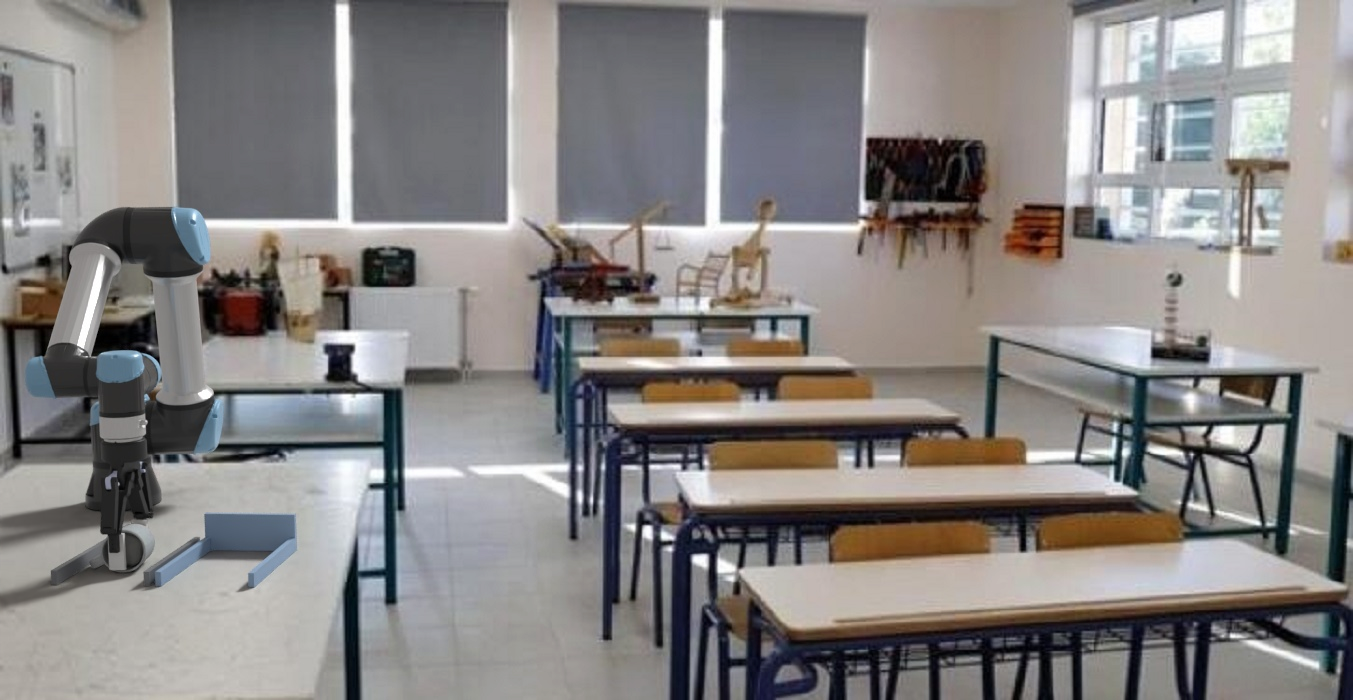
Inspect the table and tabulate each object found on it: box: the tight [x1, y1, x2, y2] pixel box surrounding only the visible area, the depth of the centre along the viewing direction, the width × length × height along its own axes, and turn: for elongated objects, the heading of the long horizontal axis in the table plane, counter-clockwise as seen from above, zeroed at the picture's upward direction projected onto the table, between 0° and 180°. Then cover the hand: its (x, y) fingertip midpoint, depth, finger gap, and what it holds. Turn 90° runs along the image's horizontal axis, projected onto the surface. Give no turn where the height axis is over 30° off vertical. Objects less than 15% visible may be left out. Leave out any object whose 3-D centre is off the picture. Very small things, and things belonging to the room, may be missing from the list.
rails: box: [50, 536, 201, 587], centre depth 226 cm, size 22×17×2 cm
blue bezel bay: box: [155, 512, 298, 588], centre depth 226 cm, size 23×17×7 cm
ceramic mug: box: [89, 523, 156, 573], centre depth 226 cm, size 11×8×8 cm
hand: (129, 561), depth 226 cm, fingers closed on ceramic mug, 8 cm apart
